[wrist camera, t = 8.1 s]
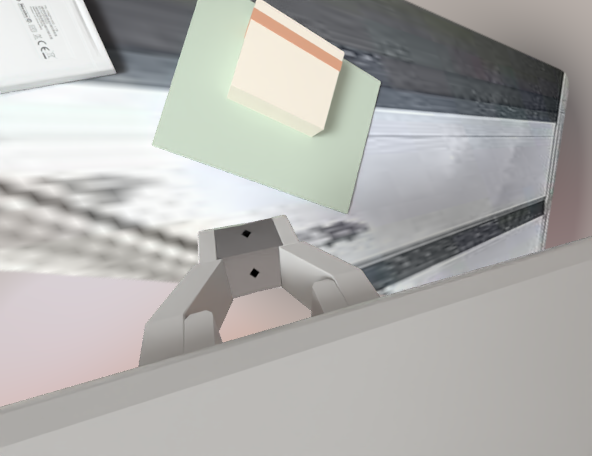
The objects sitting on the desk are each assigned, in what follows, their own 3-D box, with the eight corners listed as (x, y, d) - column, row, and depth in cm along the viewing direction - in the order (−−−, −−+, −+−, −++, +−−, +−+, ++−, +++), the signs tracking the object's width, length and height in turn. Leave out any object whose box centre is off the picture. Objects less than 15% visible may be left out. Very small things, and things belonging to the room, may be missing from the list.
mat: (152, 145, 22) (151, 144, 22) (206, -23, 24) (206, -27, 23) (345, 213, 30) (347, 213, 30) (378, 83, 31) (380, 81, 31)
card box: (230, 84, 22) (257, -4, 22) (226, 97, 24) (249, 18, 25) (324, 129, 25) (345, 52, 26) (311, 137, 28) (331, 66, 28)
